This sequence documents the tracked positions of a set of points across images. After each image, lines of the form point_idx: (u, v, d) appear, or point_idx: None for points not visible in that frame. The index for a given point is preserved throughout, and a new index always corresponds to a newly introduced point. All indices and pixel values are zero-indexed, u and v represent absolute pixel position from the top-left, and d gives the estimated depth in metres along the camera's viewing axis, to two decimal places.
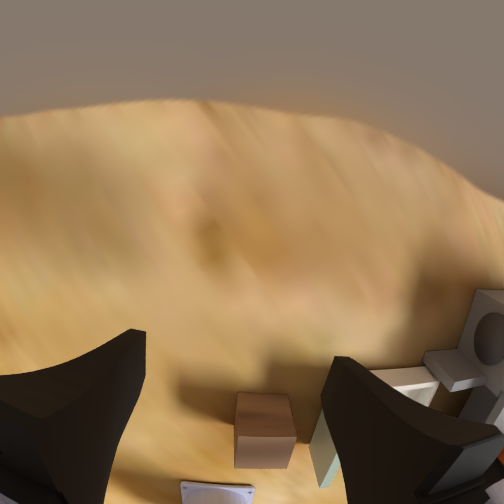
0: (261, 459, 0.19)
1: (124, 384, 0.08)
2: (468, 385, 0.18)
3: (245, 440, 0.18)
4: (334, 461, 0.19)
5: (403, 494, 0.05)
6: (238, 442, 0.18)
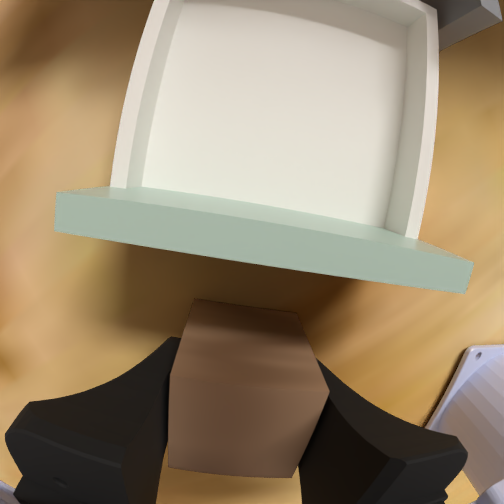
0: (264, 442, 0.08)
1: None
2: None
3: (180, 461, 0.08)
4: (317, 266, 0.06)
5: None
6: (192, 469, 0.08)
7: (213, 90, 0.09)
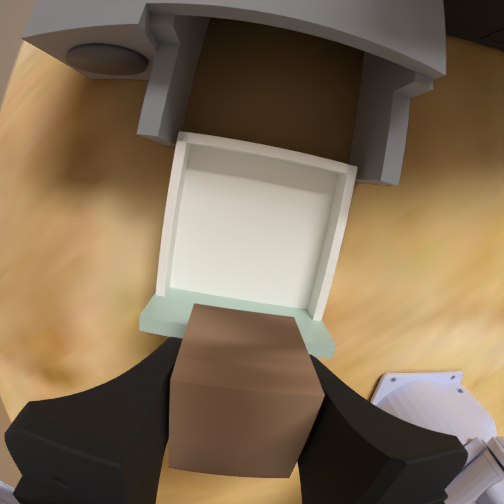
0: (261, 443, 0.08)
1: None
2: (160, 91, 0.12)
3: (181, 461, 0.08)
4: None
5: None
6: (192, 469, 0.08)
7: (208, 235, 0.17)
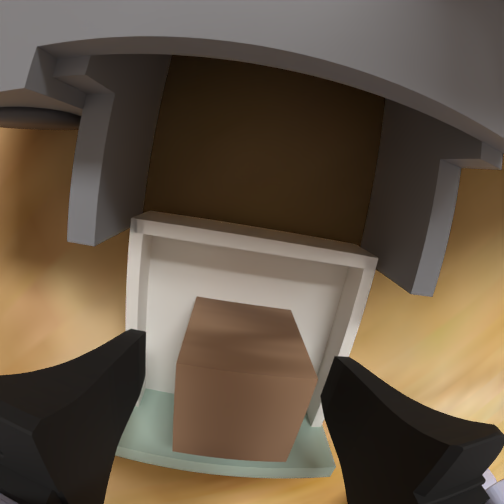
0: (260, 426, 0.09)
1: (124, 384, 0.08)
2: (90, 176, 0.08)
3: (184, 444, 0.09)
4: (238, 475, 0.10)
5: (403, 494, 0.05)
6: (194, 453, 0.09)
7: None
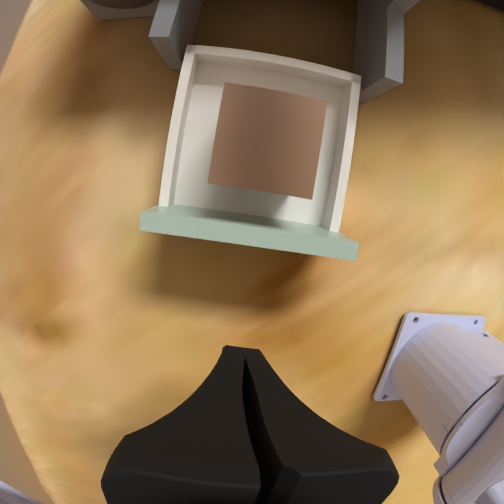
0: (287, 144, 0.11)
1: None
2: (171, 3, 0.10)
3: (219, 171, 0.11)
4: (265, 245, 0.13)
5: None
6: (227, 184, 0.11)
7: None
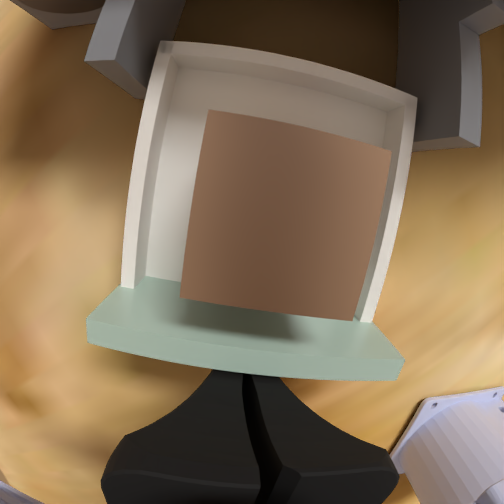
0: (320, 232, 0.06)
1: None
2: (124, 1, 0.06)
3: (199, 279, 0.07)
4: (273, 372, 0.08)
5: None
6: (214, 300, 0.07)
7: None
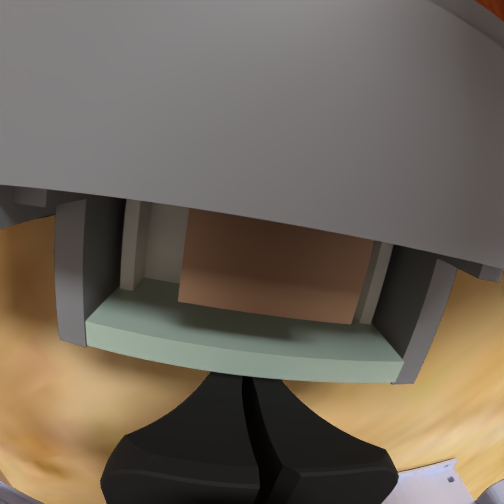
0: (318, 236, 0.06)
1: None
2: (72, 285, 0.08)
3: (197, 282, 0.07)
4: (272, 375, 0.08)
5: None
6: (212, 303, 0.07)
7: None
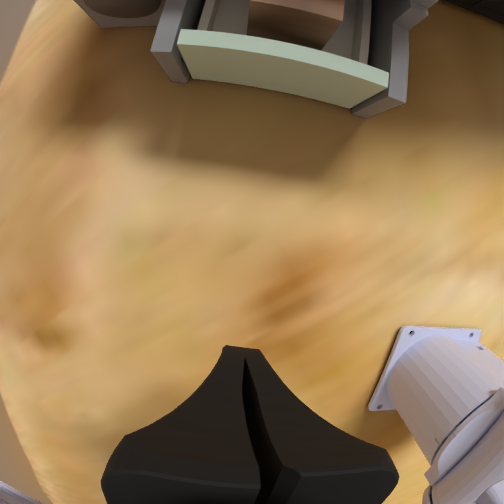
0: None
1: None
2: (174, 16, 0.11)
3: None
4: (301, 59, 0.11)
5: None
6: (267, 2, 0.10)
7: (245, 18, 0.14)
